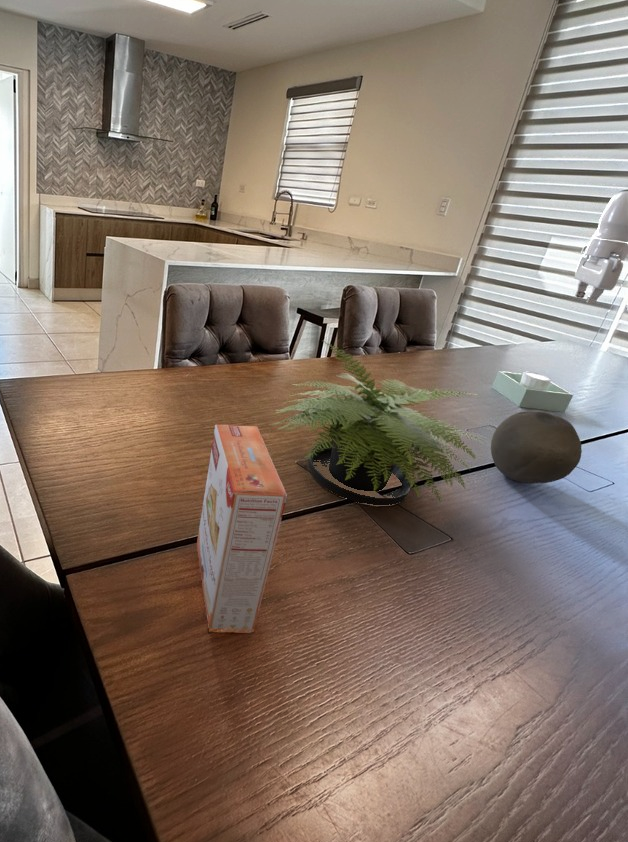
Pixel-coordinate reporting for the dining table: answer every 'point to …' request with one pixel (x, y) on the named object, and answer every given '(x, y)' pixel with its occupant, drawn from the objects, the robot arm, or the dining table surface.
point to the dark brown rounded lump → (535, 447)
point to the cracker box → (238, 526)
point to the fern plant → (375, 436)
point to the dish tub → (531, 393)
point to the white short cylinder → (535, 381)
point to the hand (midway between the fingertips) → (584, 300)
